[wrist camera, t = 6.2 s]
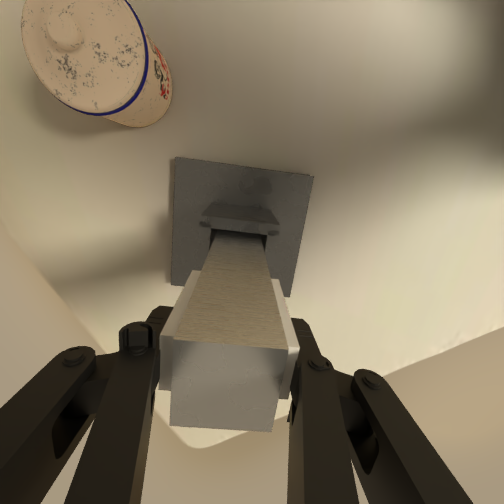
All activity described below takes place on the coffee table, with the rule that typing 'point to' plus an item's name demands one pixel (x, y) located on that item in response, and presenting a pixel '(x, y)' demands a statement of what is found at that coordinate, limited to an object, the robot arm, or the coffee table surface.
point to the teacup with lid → (97, 59)
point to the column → (229, 342)
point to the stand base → (237, 214)
